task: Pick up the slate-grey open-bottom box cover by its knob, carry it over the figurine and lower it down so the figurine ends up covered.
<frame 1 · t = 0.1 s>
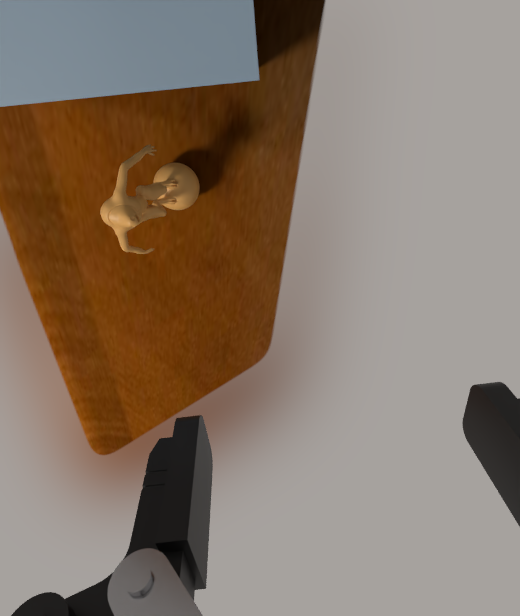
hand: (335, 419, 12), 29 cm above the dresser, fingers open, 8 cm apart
figurine: (168, 178, 37), on the dresser
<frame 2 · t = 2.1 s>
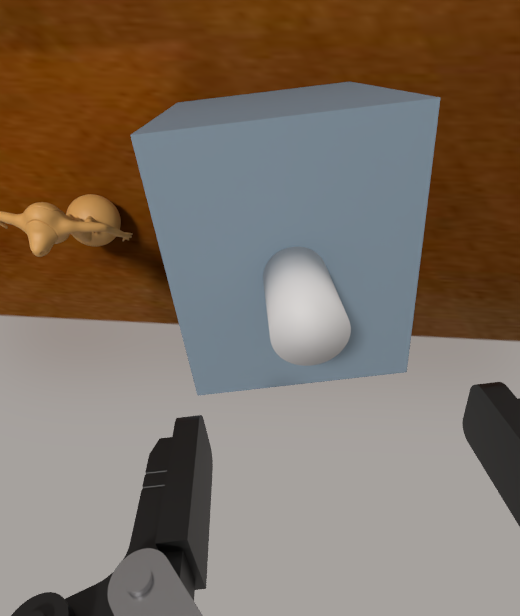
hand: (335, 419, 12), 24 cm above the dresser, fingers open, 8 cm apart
cover: (272, 192, 33), on the dresser
figurine: (101, 199, 32), on the dresser
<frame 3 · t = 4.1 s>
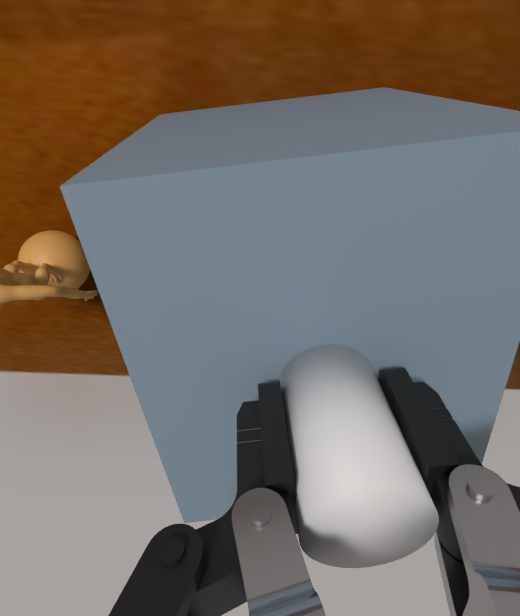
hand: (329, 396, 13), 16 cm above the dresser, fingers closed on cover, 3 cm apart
cover: (281, 225, 26), on the dresser, touching gripper
figurine: (66, 234, 26), on the dresser
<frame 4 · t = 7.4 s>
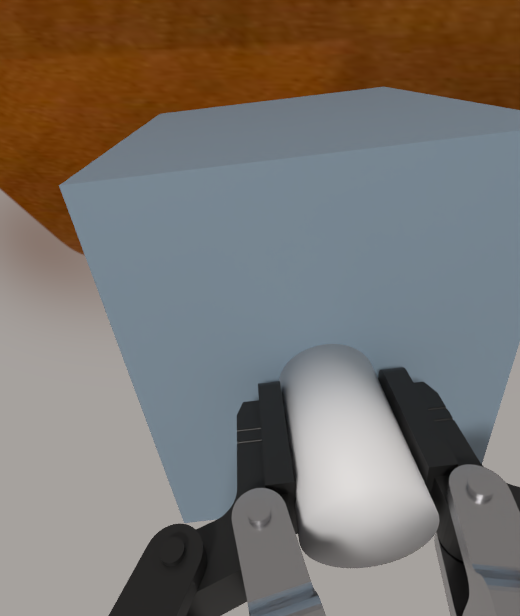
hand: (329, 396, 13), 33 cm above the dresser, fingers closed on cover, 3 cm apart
cover: (281, 224, 26), point 18 cm above the dresser, touching gripper
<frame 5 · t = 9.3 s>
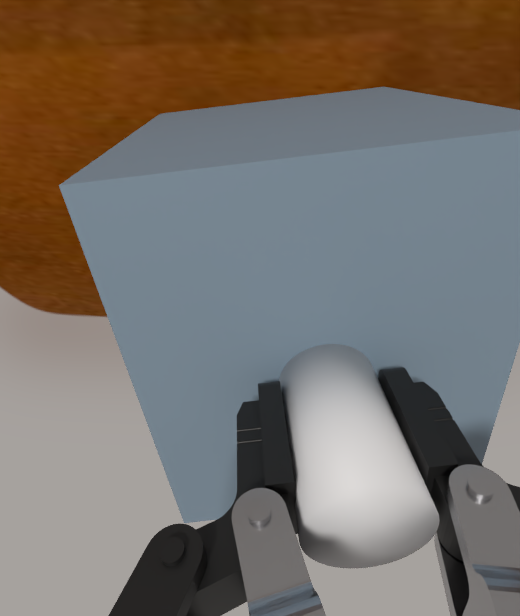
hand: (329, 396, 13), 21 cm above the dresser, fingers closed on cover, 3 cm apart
cover: (281, 224, 26), point 6 cm above the dresser, touching gripper
when the fingers open (18 cm above the dresser, at t = 10.9 s): cover drops 2 cm, on the dresser.
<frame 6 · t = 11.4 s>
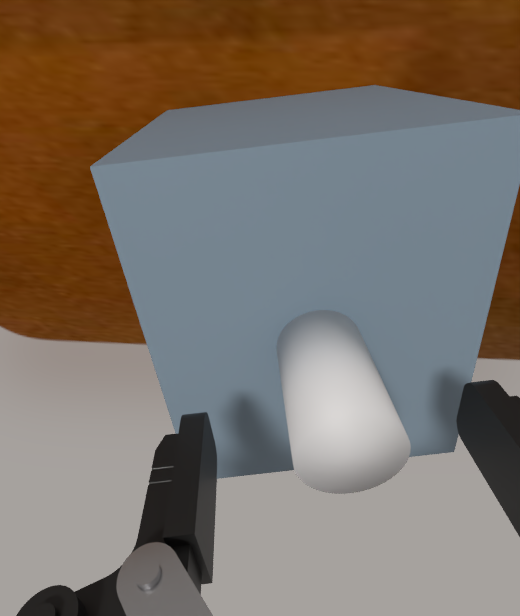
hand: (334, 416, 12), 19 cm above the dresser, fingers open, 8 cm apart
cover: (280, 214, 28), on the dresser
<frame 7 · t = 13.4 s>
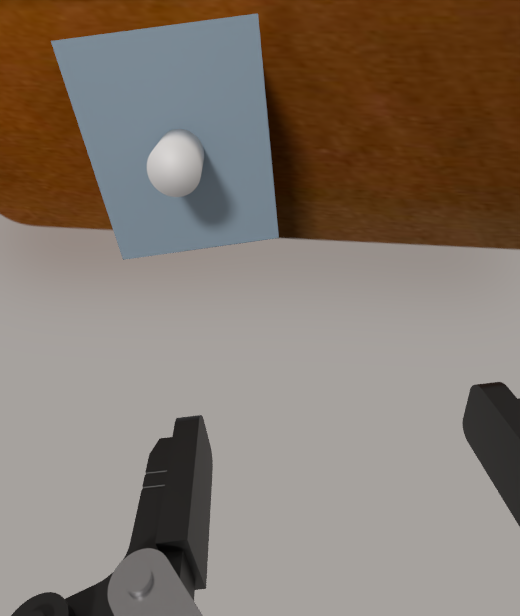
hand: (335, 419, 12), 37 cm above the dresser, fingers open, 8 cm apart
cover: (193, 124, 40), on the dresser
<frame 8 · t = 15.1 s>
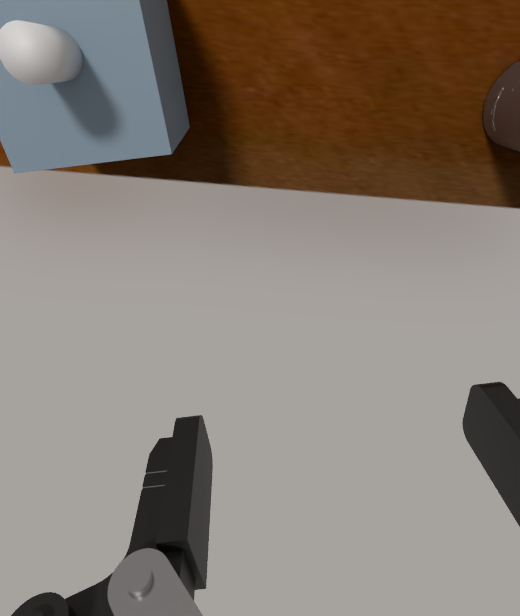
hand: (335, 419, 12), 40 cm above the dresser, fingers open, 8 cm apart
cover: (114, 56, 40), on the dresser
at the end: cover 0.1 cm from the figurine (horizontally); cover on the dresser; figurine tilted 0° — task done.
